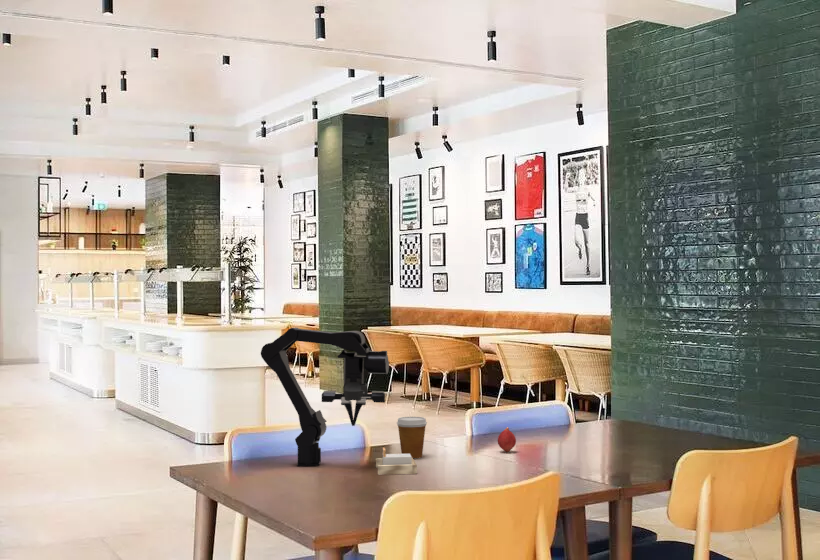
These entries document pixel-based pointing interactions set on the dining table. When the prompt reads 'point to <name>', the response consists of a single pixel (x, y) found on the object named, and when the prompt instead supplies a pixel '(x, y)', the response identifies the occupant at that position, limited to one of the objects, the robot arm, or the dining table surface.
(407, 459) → the trolley
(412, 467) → the bay
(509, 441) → the onion
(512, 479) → the dining table surface
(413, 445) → the disposable coffee cup
